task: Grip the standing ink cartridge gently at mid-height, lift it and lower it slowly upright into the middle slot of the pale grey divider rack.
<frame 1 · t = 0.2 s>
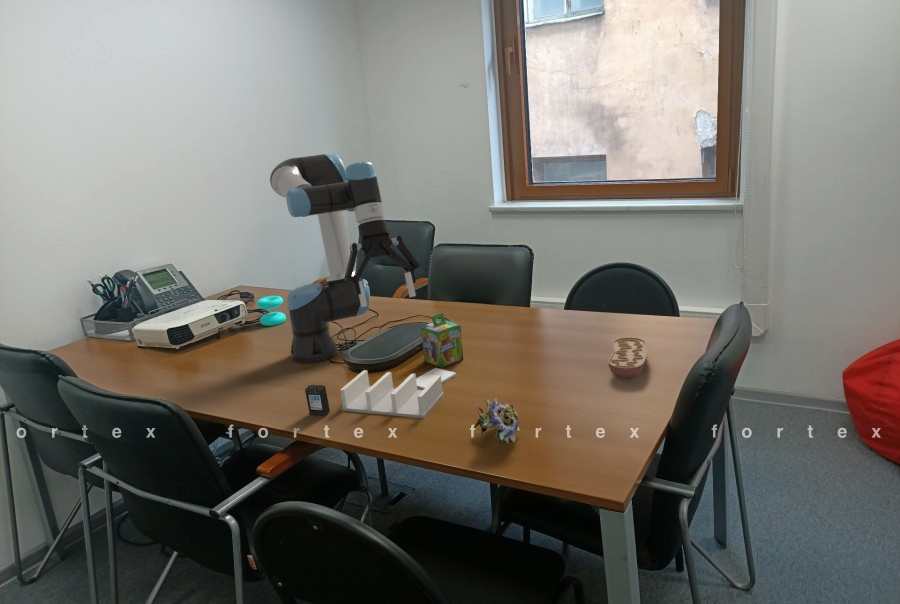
hand: (388, 301, 165), 27 cm above the table, tool tilted 20°, fingers open, 13 cm apart
divider rack: (393, 402, 171), on the table
ink cartridge: (319, 414, 168), on the table
anatomical model: (629, 368, 178), on the table
external hard drive: (432, 383, 182), on the table
passion flower: (496, 439, 147), on the table
donuts: (273, 323, 251), on the table
chalk box: (444, 361, 196), on the table
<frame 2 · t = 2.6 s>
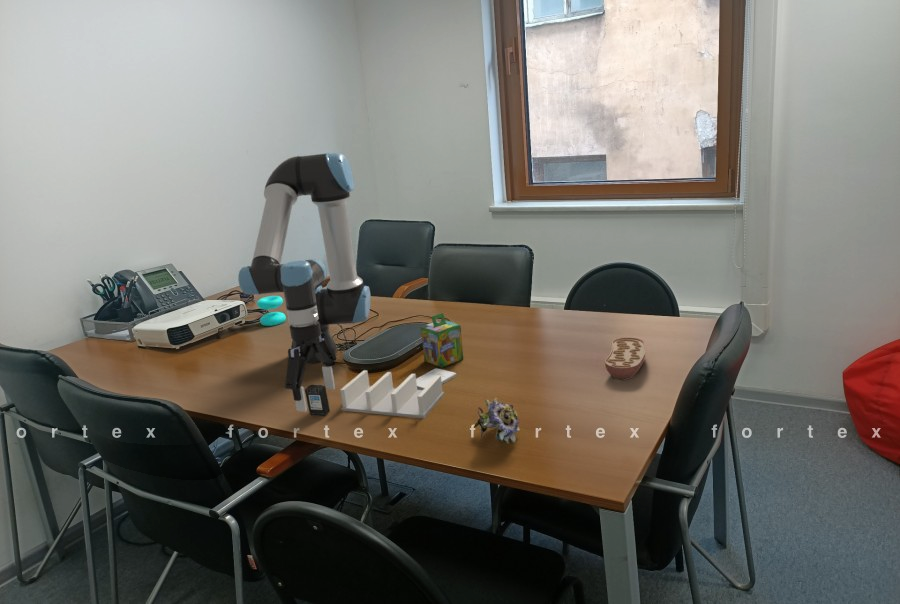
hand: (316, 399, 166), 4 cm above the table, tool pointing down, fingers open, 13 cm apart
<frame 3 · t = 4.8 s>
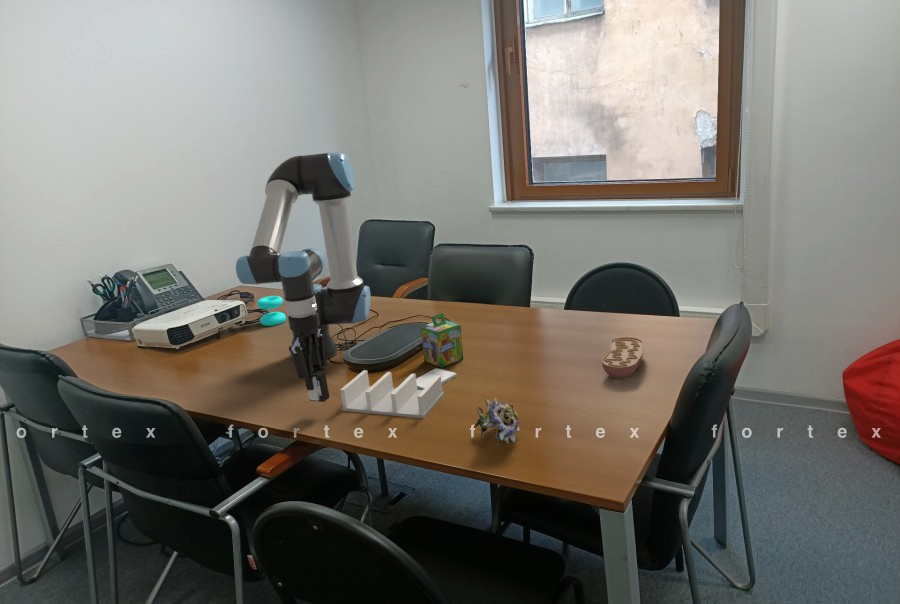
hand: (317, 396, 167), 5 cm above the table, tool pointing down, fingers closed on ink cartridge, 2 cm apart
ink cartridge: (319, 400, 167), point 4 cm above the table, touching gripper
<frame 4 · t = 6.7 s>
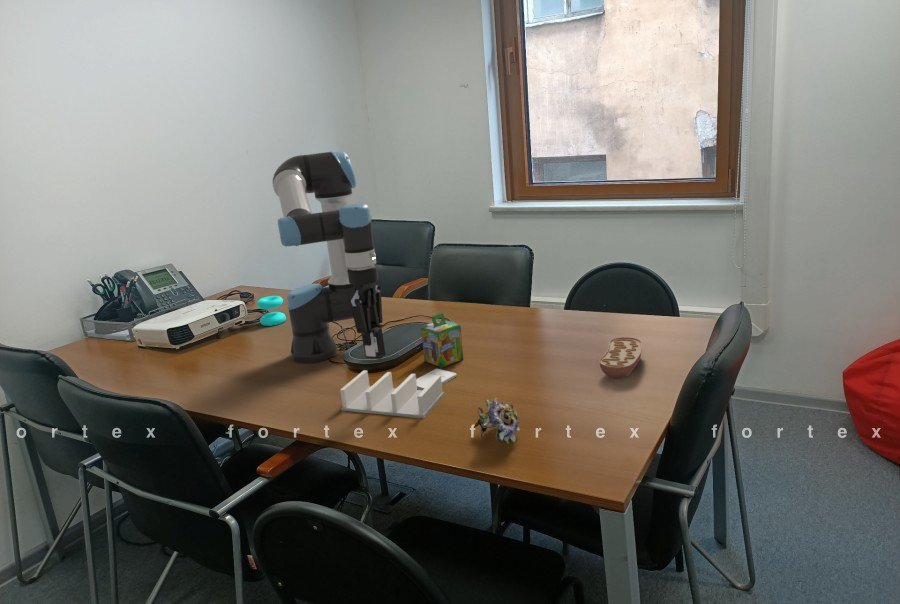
hand: (373, 353, 166), 15 cm above the table, tool pointing down, fingers closed on ink cartridge, 2 cm apart
ink cartridge: (375, 357, 166), point 14 cm above the table, touching gripper
when the fingers open (1 cm above the table, at t = 9.2 s): ink cartridge stays where it is, resting on divider rack.
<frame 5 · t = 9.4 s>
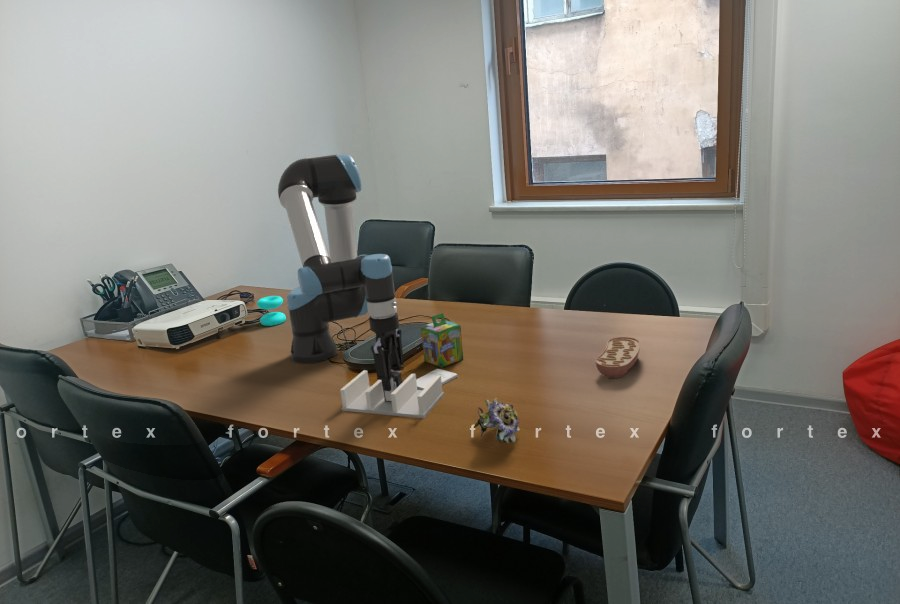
hand: (394, 396, 170), 2 cm above the table, tool pointing down, fingers open, 4 cm apart
ink cartridge: (394, 401, 170), point 1 cm above the table, touching divider rack, gripper
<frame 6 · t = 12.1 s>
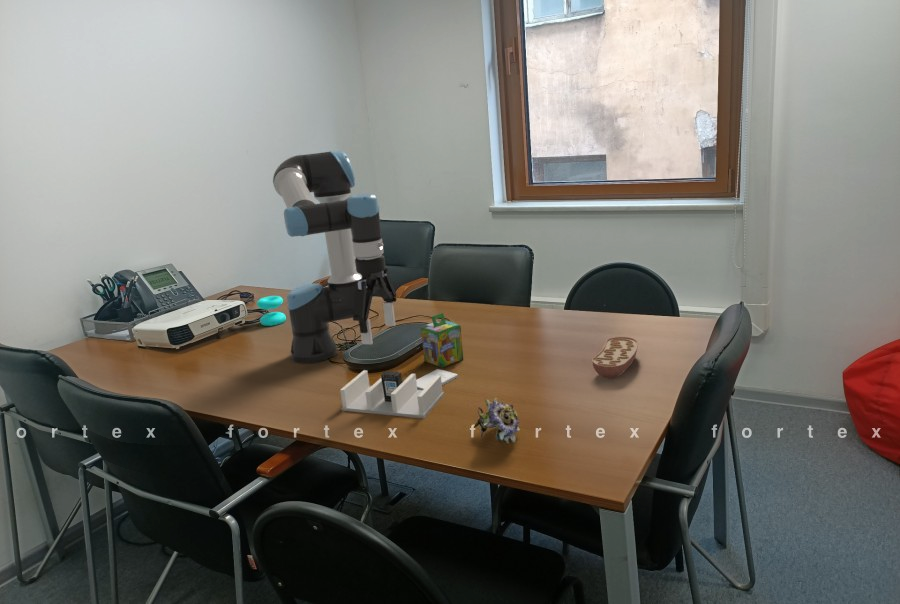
hand: (379, 334, 167), 19 cm above the table, tool pointing down, fingers open, 13 cm apart
ink cartridge: (394, 401, 170), point 1 cm above the table, touching divider rack
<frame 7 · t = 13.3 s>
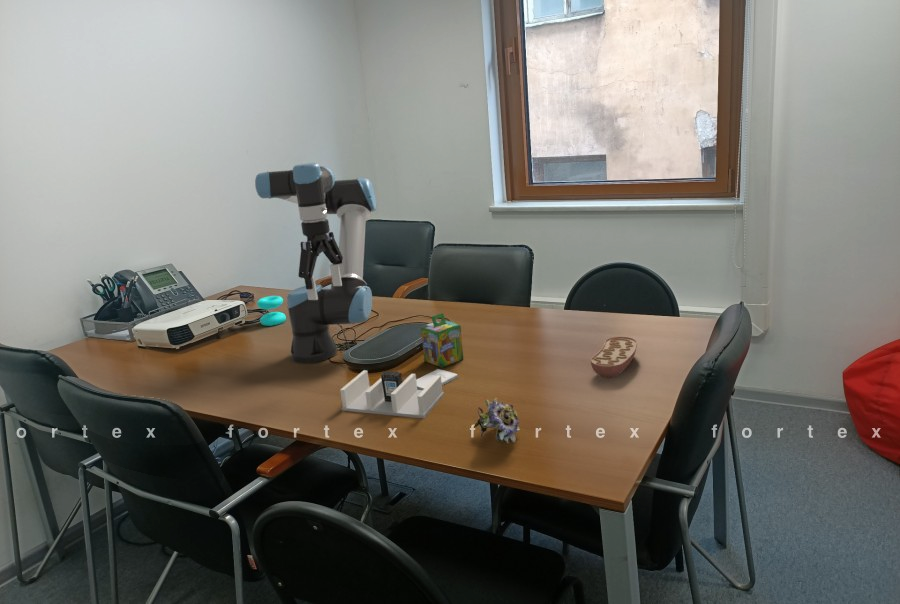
hand: (325, 292, 184), 27 cm above the table, tool pointing down, fingers open, 13 cm apart
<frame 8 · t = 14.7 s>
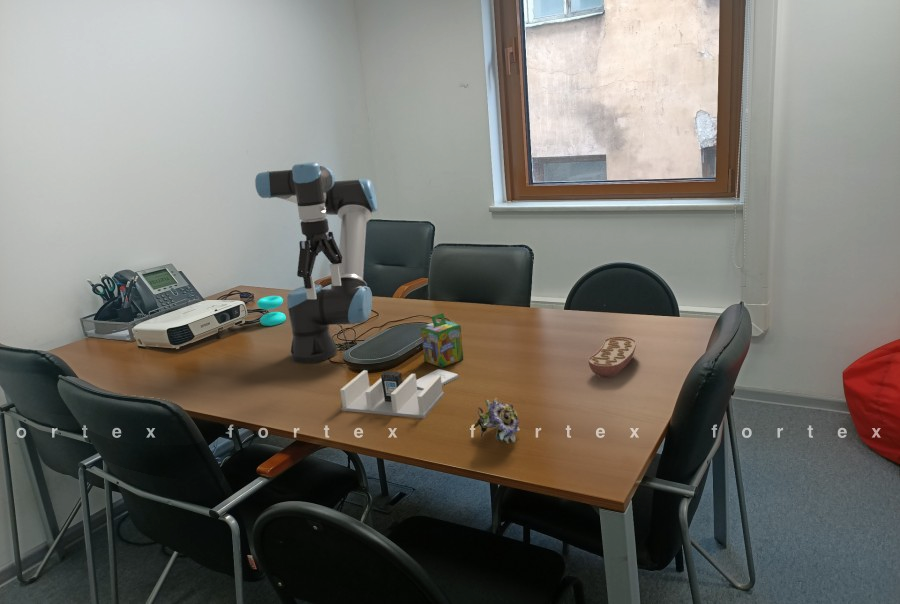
hand: (324, 292, 184), 27 cm above the table, tool pointing down, fingers open, 13 cm apart
at the end: ink cartridge inside the target area on the divider rack (0.7 cm from its centre), point 0.6 cm above the divider rack's base; ink cartridge tilted 0°; the gripper is holding nothing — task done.
